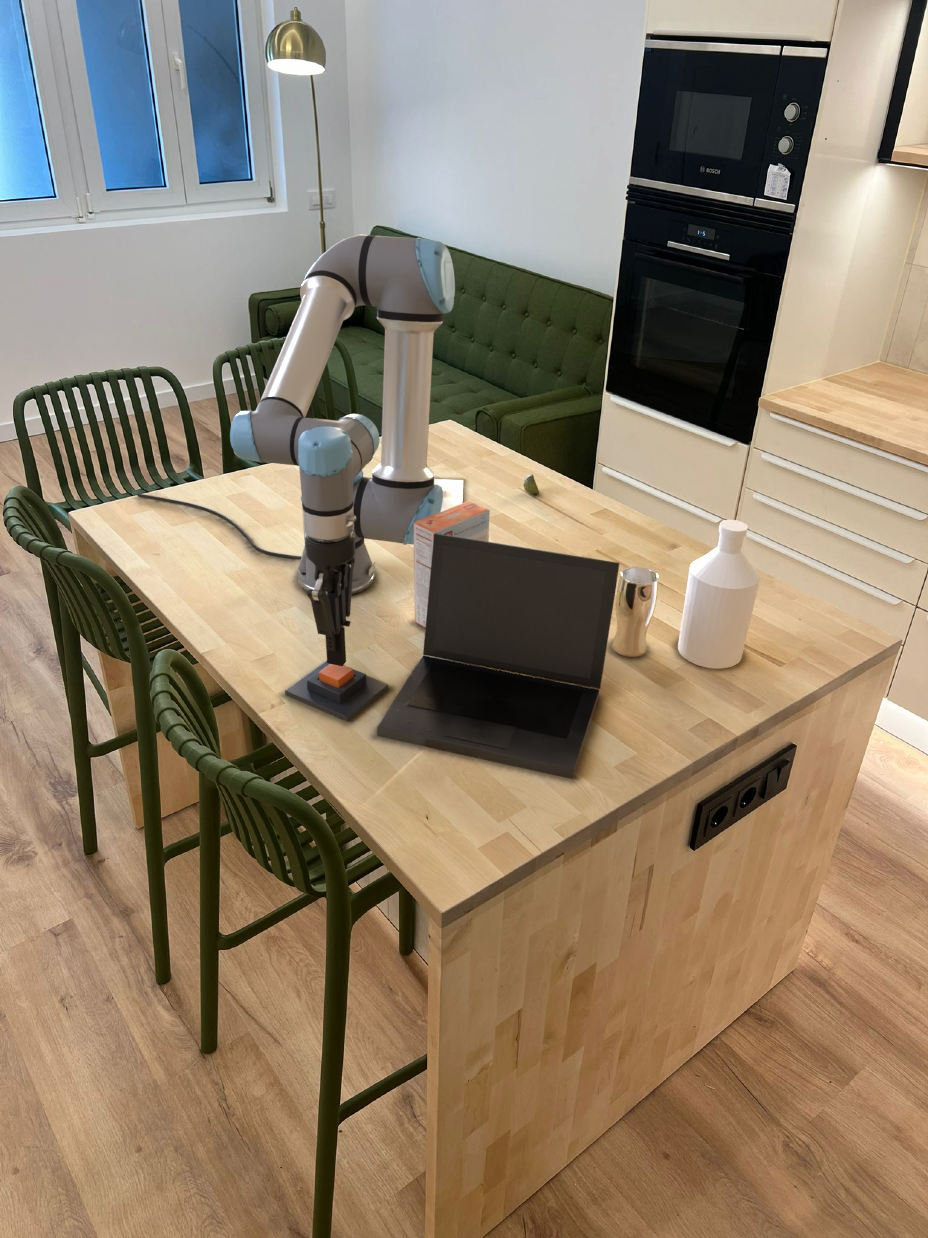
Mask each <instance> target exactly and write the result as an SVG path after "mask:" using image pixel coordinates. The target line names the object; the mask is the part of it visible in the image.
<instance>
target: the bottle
mask: <svg viewBox="0 0 928 1238" xmlns="http://www.w3.org/2000/svg"><path fill="white" fill-rule="evenodd" d="M748 529H749V526H748V525H747V524H746V523H745V522H743V521H741V520H737V519H736V520H735V519H723V520H722V521H720V523H719V526H718V532H719V537H718V543H717V546H716V547H715V548H713V549H712V550H710V551H709V552H708V553H706V554H704V555H703V556H701V557H699V558H697V559H695V560H694V561H692V562H691V563H690V565H689V569H688V570H689V571H688V576H687V583H686V584H687V585H686V591H685V596H684V597H685V598H684V603H683V609H682V610H683V611H682V616H681V617H682V618H681V624H680V630H679V637H678V643H677V650H678V652H679V654H680V655H681V657H683V658H684V659H685V660H686V661H687V662H689V663H692V664H694V665H696V666H700V667H703V668H708V669H719V670H721V669H728V668H731V667H734V666H736V665H738V664H739V663H740V662H741V661H742V657H743V654H744V649H745V646H746V641H747V637H748V633H749V628H750V623H751V620H752V615H753V611H754V606H755V603H756V598H757V594H758V590H759V586H760V581H761V574H760V571H758V569H757V568H756V567H755V566H754V565H753V564H752V563H751V562H750V560H749V559H748V558H747V556H746V555H745V553H744V551H742V549H743V543H744V540H745V537H746V536H747V534H748Z"/></svg>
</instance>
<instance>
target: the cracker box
mask: <svg viewBox="0 0 928 1238" xmlns="http://www.w3.org/2000/svg"><path fill="white" fill-rule="evenodd" d="M435 533H437V534H443V535H450V536H456V537H462V538H468V539H474V540H481V541H487V542H490V539H489V538H490V537H489V536H490V509H488V508H485V507H483V506H481V505H479V504H476V503H474V502H472V501H465V502H463V504H460V505H457V506H455V507H452V508H450V509H447V510H445V511H442V512H440V513H437V514H435V515H432V516H429V517H427V518H424V519H421V520H419V521H416V522H414V544H413V569H414V570H413V583H414V585H413V586H414V587H413V588H414V589H413V591H414V594H413V595H414V623H416V624H417V625H419V626H421V627H423V628H424V629H425V628H426V617H427V606H428V595H429V584H430V573H431V562H432V552H433V541H434V534H435Z"/></svg>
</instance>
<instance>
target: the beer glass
mask: <svg viewBox="0 0 928 1238" xmlns="http://www.w3.org/2000/svg"><path fill="white" fill-rule="evenodd" d="M659 578H660V577H659V574H658V573H657V572H655V571H654V570H652V569H650V568H648V567H643V566H628V567H625V568H623V569H622V570H621V571H620V575H619V580H618V582H617V587H616V594H615V596H616V597H615V613H616V615H615V616H616V632H615V635H614V637H613V641H612V645H611V646H612V647H611V648H612V650H613V651H614V652H615V653H616V654H618V655H620V656H623V657H626V658H638V657H641V656H643V655H644V654H646V652H647V632H648V628H649V626H650V624H651V620H652V617H653V615H654V612H655V608H656V605H657V600H658V590H659Z"/></svg>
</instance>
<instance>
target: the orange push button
mask: <svg viewBox="0 0 928 1238" xmlns="http://www.w3.org/2000/svg"><path fill="white" fill-rule="evenodd" d="M329 665H330V664H328V663H327V660H326V661H324V662H322V663H321V664H320V665H319V666H317V667H316V668H314V669H313V670H312V671H310V672H308V674H305V675H304V676H303V677H302V678H300V679H298V680H297V681H296V682H295V683H293V684H292V685H290V686H289V687H288V688H286V689H285V690H284V695H285V696H286V697H288V698H291V699H294V700H295V701H298V702H301V703H303V704H305V705H307V706H309V707H312V708H314V709H316V710H319V711H321V712H324V713H326V714H328V715H331V716H333V717H335V718H337V719H340V720H341V721H342V720H343V721H345V722H346V723H348V722H350V721H352V719H353V718H355V717H356V716H357V715H358V714H360V713H361V712H363V711H364V710H365V709H366V708H367V707H368V706H370V705H371V704H372V703H373V702H375V701H376V700H377V699H378V698H380V697H381V696H383V694H384V693H386V692H387V691H388V690H389V687H390V686H389V684H388V683H387V682H383V681H381V680H379V679H376V678H373V677H371V676H368V675H367V674H366V673H364V672H362V671H359V670H356V669H354V668H353V671H354V677H353V678H352V679H351V680H349V681H348V682H347V683H345V684H344V685H343V686H341V687H340V688H336V687H334V686H331V685H329V684H327V683H324V682H322V681H319V672H320V671H322V670H323V669H324V668H326V667H327V666H329Z"/></svg>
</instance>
